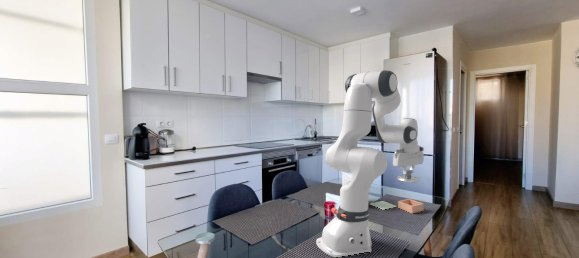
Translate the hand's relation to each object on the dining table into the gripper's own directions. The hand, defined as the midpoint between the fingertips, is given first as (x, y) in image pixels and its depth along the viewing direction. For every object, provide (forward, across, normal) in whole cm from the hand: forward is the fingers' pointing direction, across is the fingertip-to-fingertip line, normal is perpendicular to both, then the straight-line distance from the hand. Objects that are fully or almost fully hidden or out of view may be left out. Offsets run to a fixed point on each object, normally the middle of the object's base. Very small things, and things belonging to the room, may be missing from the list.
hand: (408, 173), depth 138 cm
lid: (+3, 0, 0) cm, 3 cm away
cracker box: (+20, -20, +21) cm, 35 cm away
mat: (+20, -8, +10) cm, 23 cm away
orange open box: (+20, +1, -2) cm, 20 cm away
